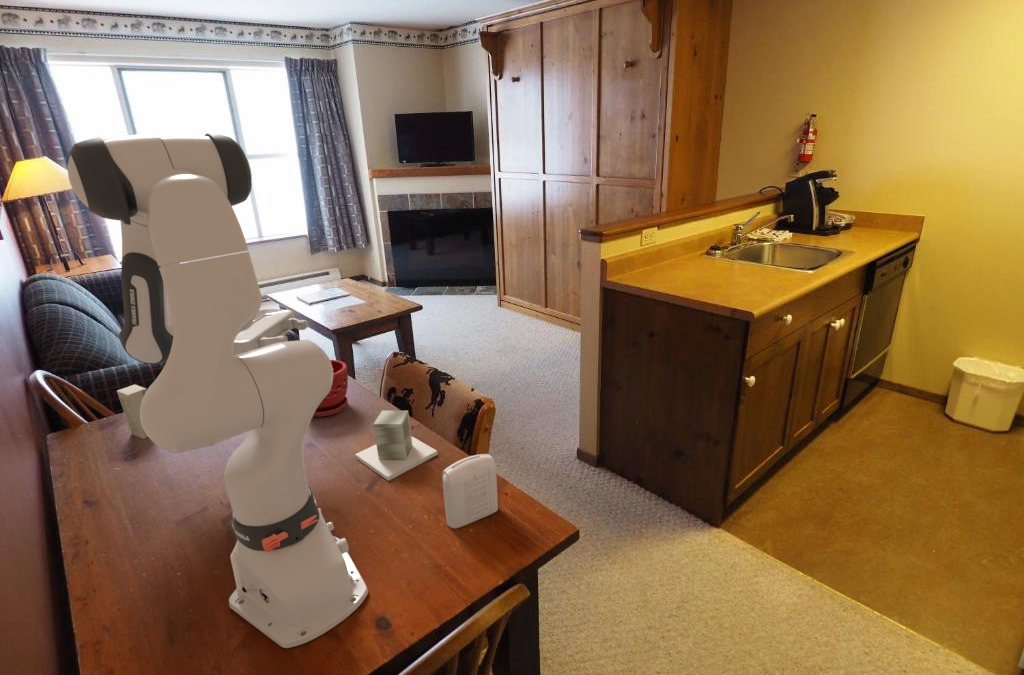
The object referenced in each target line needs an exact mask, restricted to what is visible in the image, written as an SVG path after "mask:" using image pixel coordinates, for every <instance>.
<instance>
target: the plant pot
mask: <svg viewBox="0 0 1024 675" xmlns="http://www.w3.org/2000/svg"><path fill="white" fill-rule="evenodd" d="M330 361H331V364H332V368H333V383H332V387H331V389H330V392H329V393H328V395H327V396H326V397H325V398H324V399H323V400H322V402H321V403H320V405H319V406H318V408H317V409H316V411H315V413H314V415H313V417H314V416H316V417H329V416H332V415H334V414H337V413H339V412H341V411H342V410H343V409H344V408H346V406H347V404H348V401H349V400H348V397H347V396H346V395H347V392H348V387H349V386H348V385H349V378H348V377H349V375H348V374H349V373H348V367H347V364H346V363H345V362H343V361H340V360H336V359H330Z"/></svg>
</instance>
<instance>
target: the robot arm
mask: <svg viewBox="0 0 1024 675" xmlns="http://www.w3.org/2000/svg"><path fill="white" fill-rule="evenodd" d="M68 153H69V154H68V155H69V158H68V163H67V176H68V181H69V184H70V186H71V189H72V190H73V193H74V194H75V195H76V197H77V198H78V199H79V201H80V202H82V204H83V205H84V206H86V208H87V210H88V211H89V212H91V213H92V214H94V215H96V216H99V217H101V218H103V219H107V220H114V221H119V222H120V228H121V248H122V249H121V271H120V272H121V274H120V275H121V291H122V294H121V295H122V303H123V304H122V305H123V312H124V313H123V315H124V326H123V328H122V329H121V330H120V332H119V333H118V338H119V342H120V344H121V347H122V348H123V350H124V351H125V352H126V354H127V355H128V356H129V357H130V358H131V359H134V360H135V361H137V362H139V363H142V364H146V365H159V364H164V363H165V364H164V366H163V369H162V370H161V371H160V373H158V374H159V375H158V376H157V377H156V379H155V380H154V381H153V382H152V383H151V384H150V385H149V387H147V388H146V389H147V391H146V393H145V395H144V397H143V399H142V402H141V407H140V420H141V424H142V427H143V429H144V431H145V433H146V435H147V436H148V437H147V438H148V439H149V440H150V441H151V442H152V443H154V445H156V446H157V447H159V448H161V449H162V450H164V451H167V452H169V453H172V454H179V453H184V452H189V451H195V450H199V449H204V448H208V447H213V446H215V445H218V444H221V443H223V442H225V441H228V440H231V439H233V438H235V437H238V436H240V435H244V434H245V433H248V434H247V436H246V438H245V439H244V441H243V442H242V443H241V444H240V445H239V446H238V447H237V448H236V449H235V450H234V451H233V452H232V454H230V457H229V458H228V460H227V463H226V465H225V468H224V473H223V481H224V483H225V484H224V486H225V488H226V492H227V495H228V498H229V499H228V500H229V504H230V506H231V509H232V510H231V514H230V515H231V517H230V518H231V525H232V526H231V527H232V530H233V531H234V534H235V537H236V542H235V545H234V547H233V550H232V551H231V554H230V556H229V557H230V561H231V566H232V571H233V576H234V581H235V586H236V588H235V590H234V591H233V593H231V595H230V597H229V599H228V604H229V605H228V606H229V608H230V609H231V610H232V611H234V612H235V613H237V614H238V615H239V616H240V617H242V618H243V619H244V620H246V621H247V622H248V623H249V624H250V625H252V626H253V627H255V628H256V629H257V630H259V631H260V632H261V633H262V634H264V635H265V636H266V637H267V638H269V639H271V640H272V641H273V642H274V643H276V644H277V645H278V646H279V647H282V648H284V649H289V648H295V647H298V646H301V645H304V644H306V643H308V642H310V641H313V640H314V639H316V638H318V637H320V636H322V635H324V634H325V633H327V632H329V631H330V630H331V629H333V628H335V627H336V626H337V625H339V624H340V623H341V622H343V621H344V620H346V619H347V618H348V617H349V616H350V615H351V614H353V613H354V612H355V611H356V610H357V609H358V608H359V607H360V606H361V604H362V603H363V602H364V601H365V599H366V597H367V595H369V590H368V586H367V585H366V582H365V579H363V577H362V574H360V572H359V570H358V567H357V566H356V565H355V562H354V561H353V559H352V558H351V556H350V553H349V551H350V549H349V548H350V546H349V544H348V541H347V540H346V537H342V538H339V537H338V536H337V537H336V536H335V535H333V533H332V532H331V531H333V530H334V529H335V526H334V523H333V522H332V521H329V522H326V520H325V518H324V515H323V513H322V509H321V508H319V507H318V503H317V501H316V498H315V496H314V494H313V492H312V488H310V486H309V485H308V479H307V474H306V473H307V472H306V466H305V456H304V447H305V440H306V435H307V433H308V430H309V426H310V424H311V421H312V419H313V417H314V416H313V415H314V413H315V411H316V409H317V408H318V406H319V405H320V403H321V402H322V400H323V399H324V398H325V397H326V396H327V395H328V393H329V392H330V389H331V387H332V383H333V368H332V364H331V361H330V360H331V359H330V357H329V356H328V354H327V353H326V352H325V350H324V349H323V348H322V347H321V346H319V345H318V344H317V343H315V342H313V341H311V340H310V339H301V340H299V339H298V340H289V339H288V336H286V333H288V332H290V331H291V330H293V329H297V331H304V330H306V329H308V328H309V323H308V320H306V319H298V318H296V315H295V312H294V311H293V310H291V309H283V308H282V309H280V308H278V309H277V308H265V309H264V308H262V309H261V307H262V304H263V303H262V302H263V297H262V294H261V290H260V286H259V283H258V279H257V275H256V272H255V268H254V265H253V262H252V258H251V254H250V251H249V247H248V245H247V244H248V243H247V242H246V238H245V236H244V232H243V230H242V227H241V224H240V222H239V219H238V217H237V215H236V213H235V210H234V209H233V206H236V205H237V206H238V205H239V204H241V203H243V202H245V201H247V200H248V197H249V196H250V194H251V192H252V178H253V177H252V169H251V165H250V162H249V160H248V157H247V156H246V154H245V152H244V150H243V148H242V147H241V145H240V144H239V143H238V142H236V141H235V139H233V138H232V137H230V136H226V135H222V134H218V133H217V134H214V133H205V134H204V135H201V134H198V135H197V134H186V133H185V134H182V133H180V134H179V133H177V134H175V133H173V134H172V133H168V134H167V133H164V134H162V133H161V134H159V133H156V132H151V133H141V134H140V133H136V134H129V135H123V136H116V137H110V138H105V139H102V138H101V137H94V138H89V139H86V140H82V141H79V142H76V143H74V144H73V146H72V147H71V149H70V150H69V152H68Z"/></svg>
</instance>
